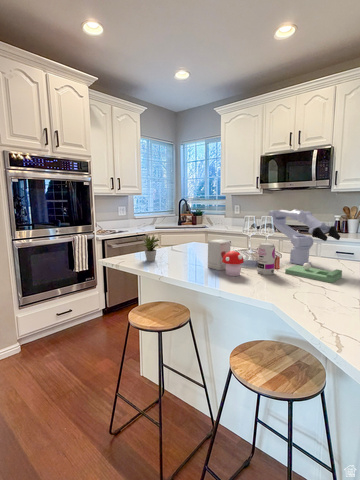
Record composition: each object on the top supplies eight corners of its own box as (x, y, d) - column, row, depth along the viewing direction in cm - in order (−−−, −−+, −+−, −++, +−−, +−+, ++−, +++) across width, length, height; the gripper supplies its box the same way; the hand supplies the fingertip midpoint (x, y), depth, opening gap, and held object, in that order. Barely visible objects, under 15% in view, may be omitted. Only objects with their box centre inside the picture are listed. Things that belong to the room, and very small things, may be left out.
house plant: (161, 263, 160) (161, 235, 157) (138, 263, 160) (137, 236, 158) (163, 257, 174) (163, 232, 171) (141, 258, 174) (141, 232, 172)
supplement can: (274, 271, 141) (276, 243, 138) (272, 276, 133) (274, 245, 131) (258, 270, 144) (259, 242, 142) (255, 274, 137) (256, 244, 134)
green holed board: (285, 273, 138) (285, 266, 138) (296, 268, 146) (296, 262, 146) (332, 282, 122) (332, 275, 122) (341, 277, 130) (342, 270, 130)
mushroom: (239, 278, 130) (239, 254, 128) (218, 275, 135) (218, 251, 133) (246, 273, 139) (247, 250, 137) (226, 270, 144) (226, 248, 142)
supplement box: (219, 270, 143) (220, 242, 141) (207, 267, 150) (207, 240, 148) (230, 267, 149) (231, 240, 147) (218, 264, 156) (218, 238, 154)
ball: (301, 270, 136) (301, 262, 136) (304, 268, 139) (305, 261, 138) (308, 271, 134) (309, 264, 133) (311, 270, 136) (312, 263, 135)
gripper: (306, 219, 141) (323, 232, 130) (329, 217, 145) (348, 231, 134) (301, 230, 145) (318, 244, 134) (324, 229, 149) (342, 242, 138)
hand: (332, 238), depth 134 cm, fingers open, 7 cm apart
